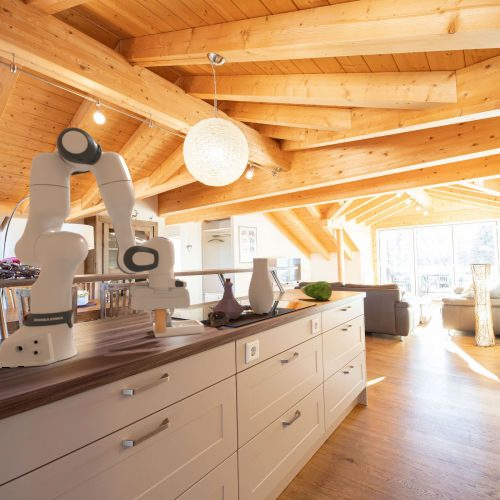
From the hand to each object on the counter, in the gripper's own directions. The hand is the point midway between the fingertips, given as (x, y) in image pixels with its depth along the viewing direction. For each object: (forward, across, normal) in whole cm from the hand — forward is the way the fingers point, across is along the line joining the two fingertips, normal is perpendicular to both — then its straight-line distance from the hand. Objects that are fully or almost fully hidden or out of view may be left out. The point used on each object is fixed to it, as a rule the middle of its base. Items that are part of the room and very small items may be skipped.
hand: (160, 321), depth 115 cm
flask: (+5, +36, +40) cm, 54 cm away
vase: (+4, +56, +45) cm, 72 cm away
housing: (+7, +8, +13) cm, 17 cm away
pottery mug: (+6, +26, +22) cm, 35 cm away
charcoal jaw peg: (+6, +3, +13) cm, 15 cm away
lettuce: (+1, +113, +86) cm, 142 cm away
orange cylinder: (+4, 0, 0) cm, 4 cm away
